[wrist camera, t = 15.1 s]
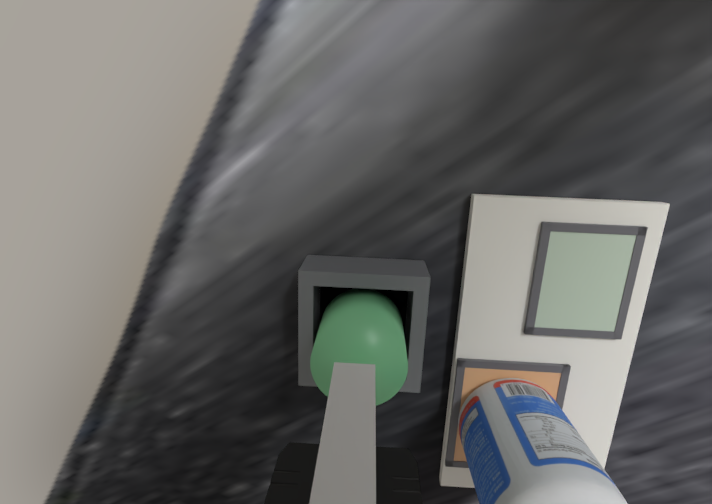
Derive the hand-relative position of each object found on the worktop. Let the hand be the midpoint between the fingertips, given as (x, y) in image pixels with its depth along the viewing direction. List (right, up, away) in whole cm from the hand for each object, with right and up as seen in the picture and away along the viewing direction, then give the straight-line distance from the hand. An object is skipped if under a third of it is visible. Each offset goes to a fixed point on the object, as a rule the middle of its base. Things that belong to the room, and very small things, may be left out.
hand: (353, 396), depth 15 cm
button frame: (0, +2, +7) cm, 7 cm away
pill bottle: (+8, -4, +7) cm, 12 cm away
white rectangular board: (+10, 0, +7) cm, 12 cm away
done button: (0, +2, +5) cm, 5 cm away
